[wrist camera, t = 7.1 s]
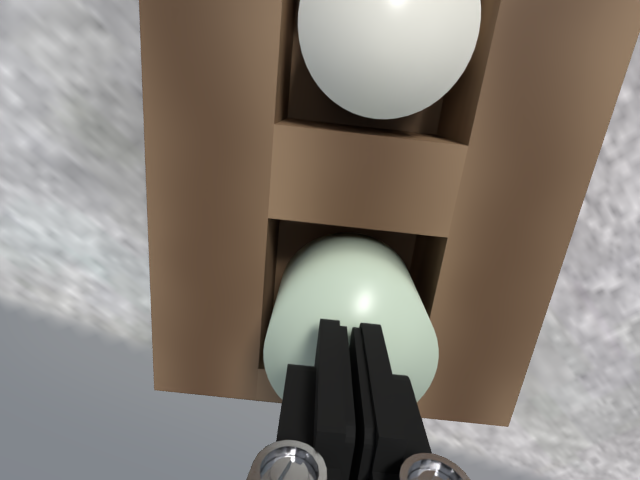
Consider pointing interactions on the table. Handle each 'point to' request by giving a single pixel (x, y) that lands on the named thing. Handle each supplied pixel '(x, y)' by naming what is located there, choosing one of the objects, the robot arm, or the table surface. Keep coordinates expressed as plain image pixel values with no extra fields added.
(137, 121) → the table surface
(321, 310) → the sage button
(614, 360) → the table surface
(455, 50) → the ivory button
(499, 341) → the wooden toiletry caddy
